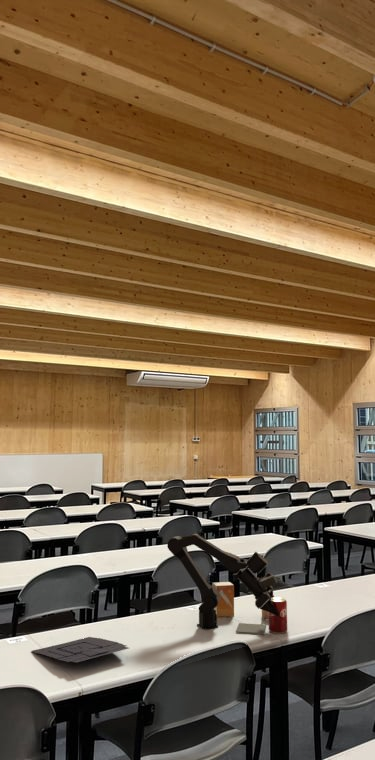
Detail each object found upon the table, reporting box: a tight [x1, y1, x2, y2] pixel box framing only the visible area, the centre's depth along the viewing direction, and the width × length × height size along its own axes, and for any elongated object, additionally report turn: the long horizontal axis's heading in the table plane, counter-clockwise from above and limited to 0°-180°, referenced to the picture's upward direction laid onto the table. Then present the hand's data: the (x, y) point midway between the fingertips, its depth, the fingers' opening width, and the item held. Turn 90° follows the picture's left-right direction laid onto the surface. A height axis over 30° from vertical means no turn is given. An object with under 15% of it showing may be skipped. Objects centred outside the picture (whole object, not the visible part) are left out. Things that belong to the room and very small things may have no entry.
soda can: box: [268, 596, 288, 635], centre depth 220 cm, size 7×7×12 cm
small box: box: [211, 581, 235, 618], centre depth 243 cm, size 8×6×13 cm
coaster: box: [235, 622, 267, 636], centre depth 221 cm, size 11×11×1 cm
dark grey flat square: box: [31, 636, 130, 663], centre depth 193 cm, size 24×30×4 cm
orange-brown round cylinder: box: [261, 609, 269, 621], centre depth 237 cm, size 6×6×7 cm
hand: (279, 611), depth 220 cm, fingers open, 9 cm apart
